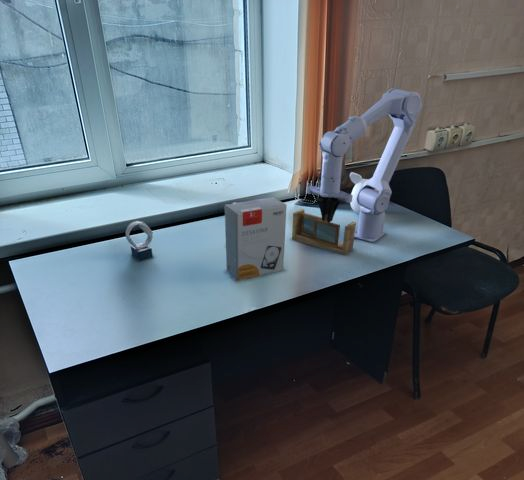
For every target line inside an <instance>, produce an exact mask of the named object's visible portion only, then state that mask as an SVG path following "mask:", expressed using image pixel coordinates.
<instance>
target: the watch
mask: <svg viewBox="0 0 524 480" xmlns="http://www.w3.org/2000/svg"><path fill="white" fill-rule="evenodd" d="M136 226H139V228H140V229H141V230H142V232H144V233H145V234H146V235H147V237H146V240H145V241H144V242H139V243H135V242H134V241H133V239H132V238H131V235H130V233H131V231H132V230H133V229H134V227H136ZM153 234H154V231H153V230H152V229H151V227H150V226H148V225H147V223H145V222H144V221H143V220H140V221H139V220H134V221H132V222H130V223H129V224H128V225H127V226H126V229H125V238H126V240H127V242H128V243H129V244H130V251H131V252H130V253H131V256H132V257H133V258H135V259H137V260H138V261H139V262H143V261H146V260H150V259H153V258H154V256H153V250H152V247H150V246H149V245H150V244H151V242H152V241H153V237H154V236H153Z"/></svg>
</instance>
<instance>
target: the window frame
mask: <svg viewBox="0 0 524 480" xmlns="http://www.w3.org/2000/svg"><path fill="white" fill-rule="evenodd" d="M315 219H319V220H322V216H318V215H315V214H314V215H313V214H310V213H306V212H305V209H304V208H301V209H298V210H296V211H295V212H293V213H292V229H291V230H292V232H291V240H292V241H295V242H299V243H302V244H306V245H308V246H313V247H316V248H320V249H323V250H325V251H326V250H327V251H330V252H333V253H337V254H341V255H343V256H346V255H348V254H349V253H350V252H351V251H353V249H354V242H355V238H354V235H355V233H356V225H357V222H356V221H355V222H354V221H352V222H350V223H348V224H347V225H345V226H344V233H343V240H342V242H339V241H338V246H337V245H333V244H330V243H326V242H323V241H319V240H315V239H313V236H314V222H315Z"/></svg>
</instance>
